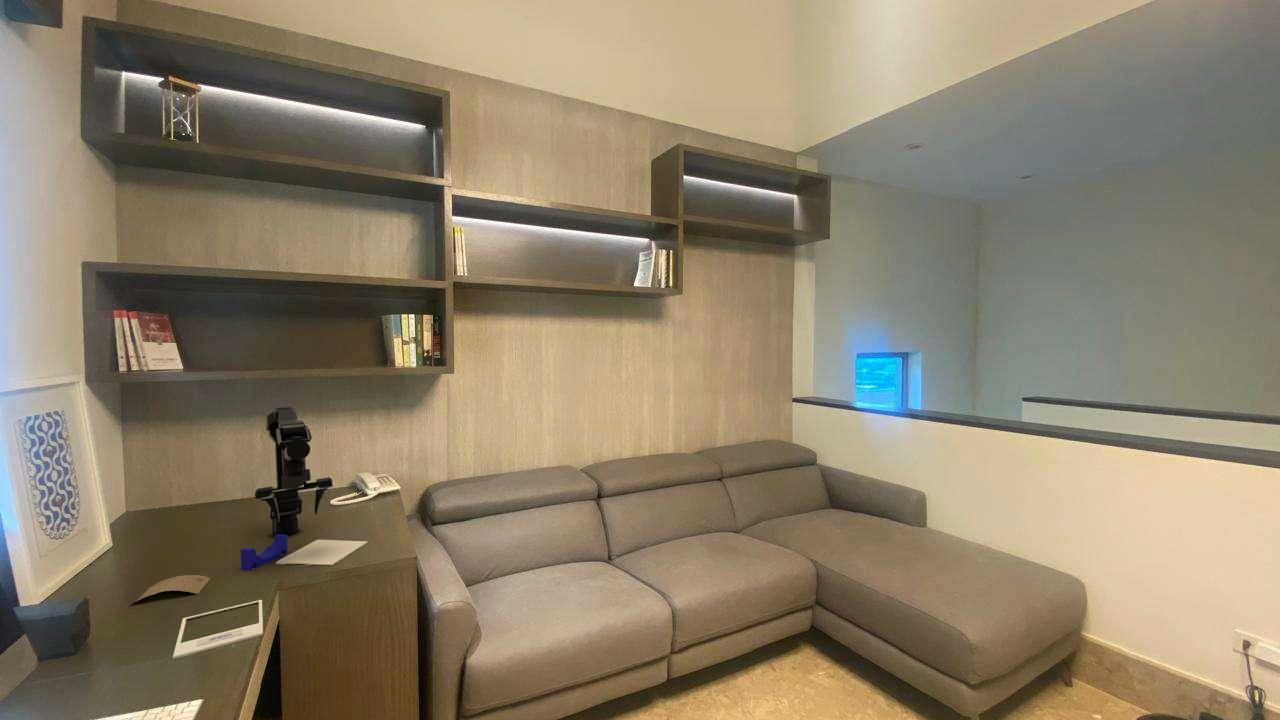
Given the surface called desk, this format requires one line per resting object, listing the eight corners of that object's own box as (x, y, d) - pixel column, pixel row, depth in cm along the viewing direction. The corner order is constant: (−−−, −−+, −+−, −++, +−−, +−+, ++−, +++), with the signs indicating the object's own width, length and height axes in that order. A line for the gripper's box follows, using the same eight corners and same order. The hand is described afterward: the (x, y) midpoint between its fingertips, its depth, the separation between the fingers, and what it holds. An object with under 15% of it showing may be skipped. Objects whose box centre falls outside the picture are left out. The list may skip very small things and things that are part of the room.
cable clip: (274, 553, 156) (274, 533, 156) (287, 554, 155) (287, 534, 155) (236, 570, 144) (236, 549, 144) (250, 571, 143) (249, 550, 143)
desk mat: (275, 564, 148) (275, 562, 148) (317, 541, 165) (317, 539, 165) (331, 566, 147) (331, 564, 146) (367, 543, 163) (367, 541, 163)
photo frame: (172, 655, 103) (182, 617, 118) (173, 661, 103) (183, 622, 118) (262, 631, 112) (262, 598, 127) (262, 636, 112) (262, 603, 127)
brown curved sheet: (126, 609, 124) (126, 598, 124) (142, 591, 133) (142, 580, 132) (203, 595, 130) (203, 585, 130) (214, 579, 139) (213, 569, 139)
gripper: (250, 467, 142) (252, 525, 139) (328, 456, 151) (332, 510, 148) (257, 471, 151) (260, 525, 148) (331, 460, 160) (334, 511, 157)
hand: (297, 518), depth 150 cm, fingers open, 9 cm apart
